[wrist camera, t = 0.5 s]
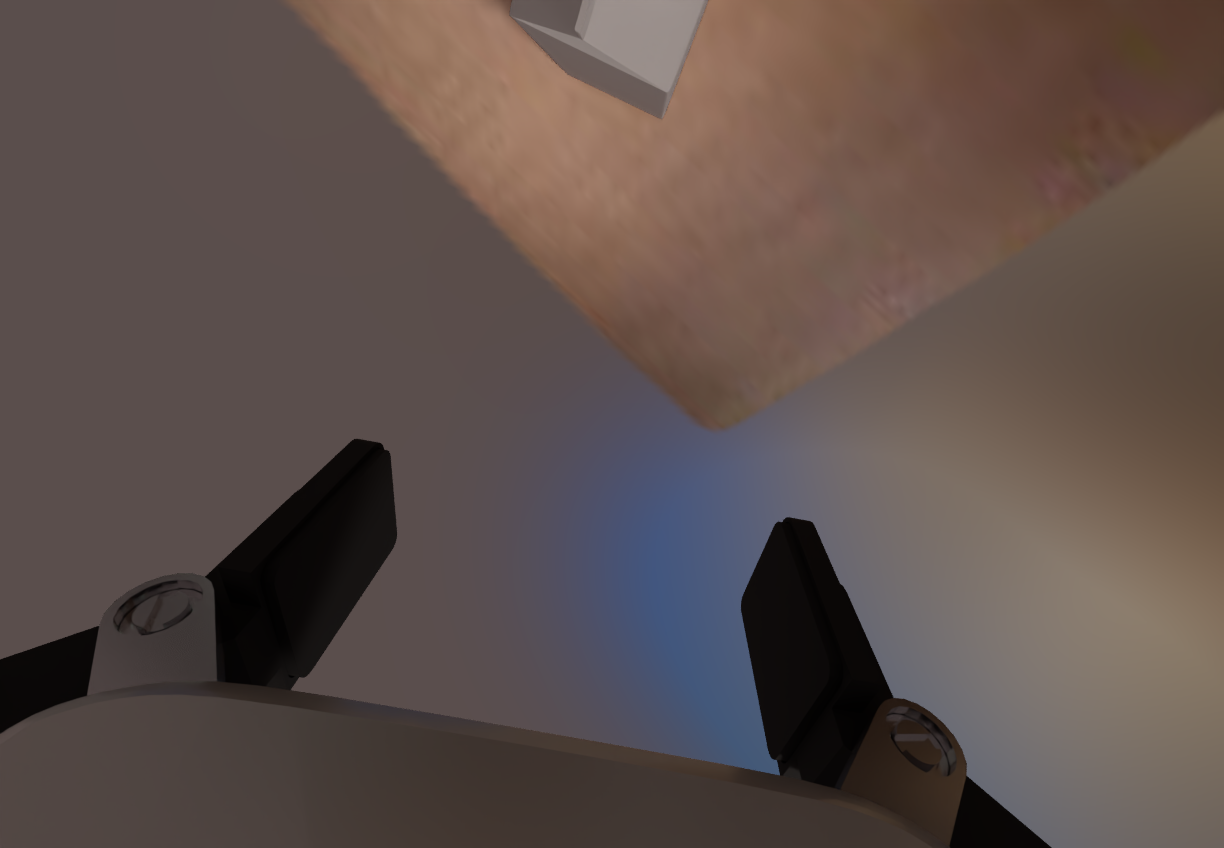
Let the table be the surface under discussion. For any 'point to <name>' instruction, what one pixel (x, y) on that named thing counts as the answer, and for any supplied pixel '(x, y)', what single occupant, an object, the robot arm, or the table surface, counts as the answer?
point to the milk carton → (616, 43)
